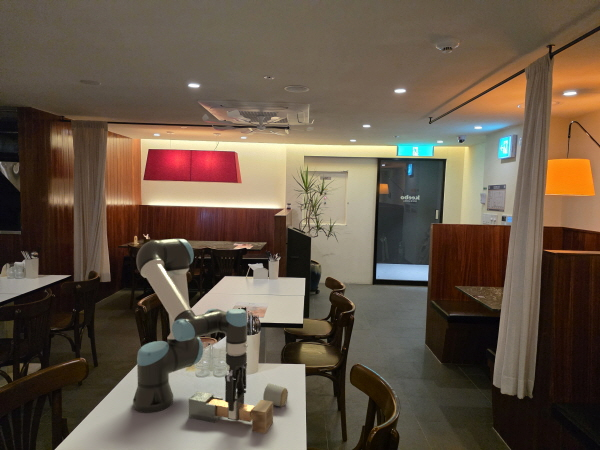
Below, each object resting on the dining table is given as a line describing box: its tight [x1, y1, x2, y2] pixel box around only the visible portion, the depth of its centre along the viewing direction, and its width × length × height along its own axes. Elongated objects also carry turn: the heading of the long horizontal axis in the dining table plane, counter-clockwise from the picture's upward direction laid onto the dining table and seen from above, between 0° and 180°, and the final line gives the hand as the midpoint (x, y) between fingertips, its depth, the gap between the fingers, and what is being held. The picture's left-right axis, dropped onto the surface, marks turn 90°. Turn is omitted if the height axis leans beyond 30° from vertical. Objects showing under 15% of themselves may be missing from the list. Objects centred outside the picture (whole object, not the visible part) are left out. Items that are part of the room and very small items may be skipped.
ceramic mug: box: [262, 382, 289, 407], centre depth 168 cm, size 11×8×8 cm
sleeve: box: [188, 391, 224, 423], centre depth 156 cm, size 11×6×7 cm, turn 73°
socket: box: [251, 399, 274, 434], centre depth 150 cm, size 5×8×8 cm, turn 163°
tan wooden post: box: [206, 391, 256, 423], centre depth 154 cm, size 20×5×8 cm, turn 73°
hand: (236, 414), depth 153 cm, fingers closed on tan wooden post, 5 cm apart
